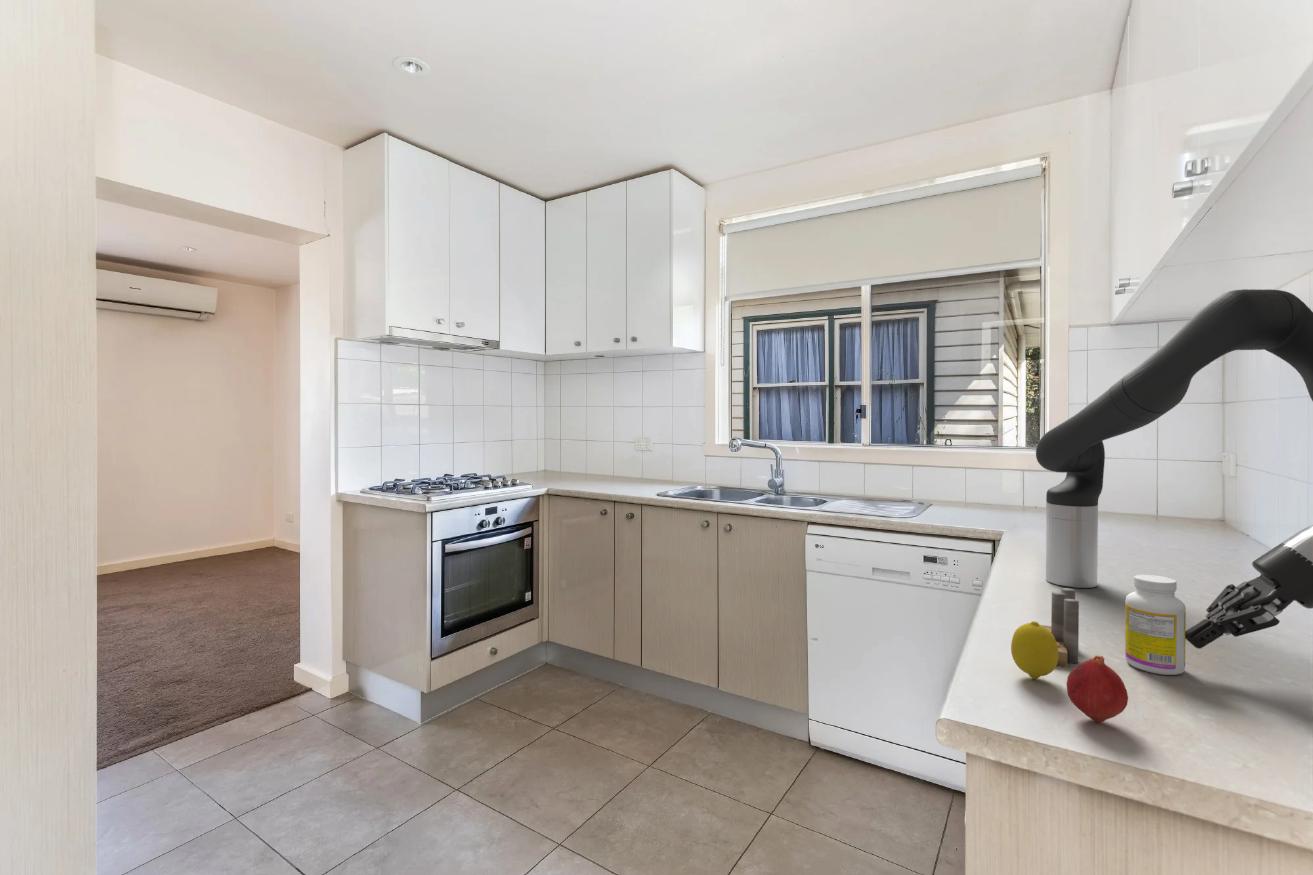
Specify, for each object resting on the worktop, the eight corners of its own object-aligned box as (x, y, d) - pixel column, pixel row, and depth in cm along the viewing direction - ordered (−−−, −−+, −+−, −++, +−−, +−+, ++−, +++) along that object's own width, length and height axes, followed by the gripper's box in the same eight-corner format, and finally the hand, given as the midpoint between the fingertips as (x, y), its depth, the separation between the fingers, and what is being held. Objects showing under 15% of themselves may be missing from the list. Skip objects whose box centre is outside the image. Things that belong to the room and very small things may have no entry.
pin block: (1029, 635, 99) (1030, 581, 99) (1073, 641, 96) (1073, 586, 96) (1031, 660, 89) (1031, 600, 88) (1080, 668, 86) (1080, 606, 85)
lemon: (1047, 672, 85) (1048, 616, 84) (1065, 689, 79) (1066, 629, 79) (1004, 669, 86) (1005, 614, 86) (1019, 686, 80) (1020, 627, 80)
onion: (1067, 725, 70) (1068, 658, 70) (1064, 705, 75) (1065, 642, 75) (1130, 739, 67) (1131, 668, 67) (1123, 717, 72) (1124, 651, 72)
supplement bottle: (1147, 655, 90) (1148, 571, 90) (1197, 673, 84) (1198, 582, 83) (1113, 660, 88) (1114, 574, 88) (1161, 679, 82) (1162, 586, 82)
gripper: (1267, 533, 84) (1155, 607, 91) (1307, 551, 73) (1176, 634, 80) (1320, 575, 82) (1201, 648, 88) (1370, 600, 70) (1230, 682, 77)
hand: (1189, 641), depth 84 cm, fingers closed
